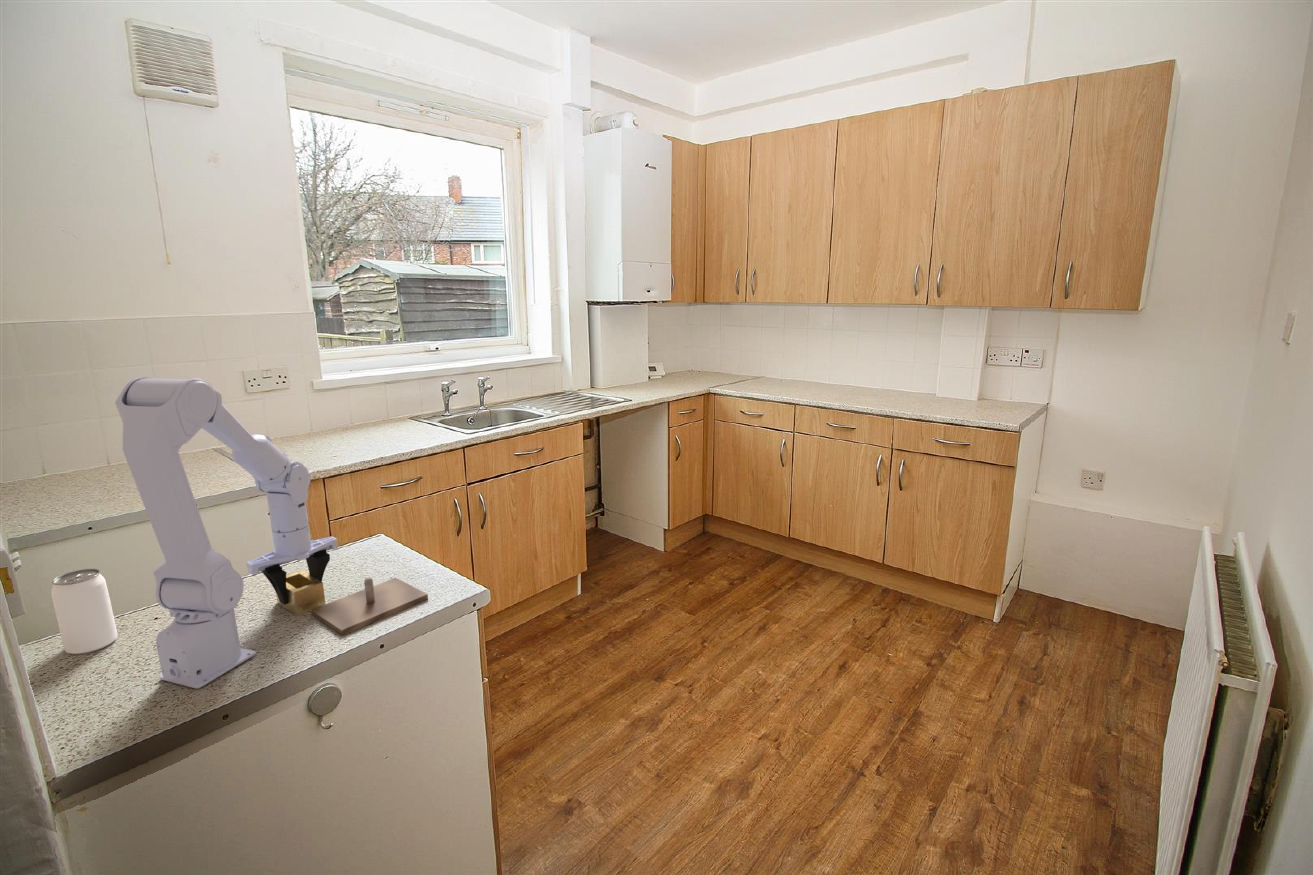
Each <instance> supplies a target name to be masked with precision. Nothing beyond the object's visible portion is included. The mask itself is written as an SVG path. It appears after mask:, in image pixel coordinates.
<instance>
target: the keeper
mask: <svg viewBox="0 0 1313 875" xmlns="http://www.w3.org/2000/svg"><path fill="white" fill-rule="evenodd" d="M363 582H364V589H362V590H360V591H357V592H354V593H351V594H348V595H347V596H343V597H341V598H338V599H335V600H334V601H330V602H328V603H326V604H325V605H322V606H320V607H317V608H314V609H312V610H311V611H310V613H311V616H312V617H314V618H316V619H317V620H318V621H320V622H321V623H323V624H324V625H326V626H327V627H329V628H331V629H332V630H333V631H335V632H336V633H338V634H339V635H341V636H345V635H347V634H350V633H352V632H354V631H357V630H359V629H361V628H364V627H366V626H368V625H370V624H373V623H375V622H378V621H380V620H382V619H385V618H387V617H390V616H392V615H394V614H396V613H398V612H401V611H403V610H406V609H408V608H410V607H413V606H416V605H418V604H421V603H422V602H424V600H425V601H427V600H429V596H428V595H429V594H428V593H426V592H424V591H423V590H421V589H419V588H416V587H414V586H413V585H410V584H408V583H407V582H405V581H402V580H401V579H399V578H397V577H394V578H391V579H389V580H386V581H383V582H380V583H378V584H375V585H374V581H373V578H372V577H367V578H365V579H364V581H363ZM426 599H427V600H426Z"/></svg>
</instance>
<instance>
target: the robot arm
mask: <svg viewBox="0 0 1313 875" xmlns="http://www.w3.org/2000/svg"><path fill="white" fill-rule="evenodd" d="M222 399H223V397H222V394H221V392H219V391H218V390H216V389H214V387H213V386H212V385H211V384H210V383H209V382H207V381H206V380H204V379H201V378H190V379H185V378H184V379H180V378H177V379H176V378H153V377H145V376H140V377H136V378H134V379H132V380H130V381H129V382H127V384H126V385H125V386H124V388H123V389H122V390H121V392H120V394H119V395H118V396H117V399H116V400H115V401H114V404H115V406H116V408H117V411H118V413H119V416H120V419H121V421H122V450H123V451H122V452H123V454H124V458H125V459H126V462H127V465H128V467H129V470H130V472H131V475H132V479H133V480H134V483H135V485H136V487H137V491H138V493H139V495H140V498H141V501H142V504H143V506H144V508H145V511H146V514H147V516H148V519H149V521H150V524H151V526H152V529H153V532H154V534H155V537H156V539H157V540H156V541H157V542H158V544H159V548H160V550H161V552H162V554H163V558H164V560H163V561H162V562H161V563H160V564H159V565H158V566H157V568H156V569H155V570H154V571H153V576H154V579H155V581H156V582H155V584H156V587H155V598H156V602H157V603H158V605H159V606H160V607H162V608H163V609H165V610H168V612H169V615H170V617H172V618H174V619H173V621H172V622H171V623H170V624H169V625H168V626H167V627H166V628H164V629H162V630H161V631H160V632H159V633H158V634H157V636H156V640H155V644H156V650H157V655H158V661H159V665H160V670H161V674H160V675H159V677H158V678H159V680H162V681H165V682H166V681H167V682H169V683H173V684H177V685H180V686H186V687H189V688H193V689H196V690H197V689H201V688H202V687H204V686H206V685H207V684H209V683H211V682H213V681H214V680H216V679H217V678H219V677H220V676H222V675H224V674H225V673H227V672H229V671H230V670H232V669H234V668H235V667H237V666H239V665H240V664H242V663H244V662H245V661H247V660H249V659H251V658H252V657H254V656H255V655H256V651H255V650H251V649H246V648H243V647H241V642H240V638H239V631H238V625H237V619H236V612H235V608H237V607H238V604H239V602H240V601H241V599H242V597H243V594H244V580H243V577H242V576H241V574H240V573H239V572H237V571H236V570H235V569H234V568H233V565H232V562H231V560H230V559H229V558H227V557H226V556H225V555H223V554H222V553H220V552H218V551H217V550H215V549H214V548H213V547H212V545H211V542H210V539H209V536H208V533H207V530H206V527H205V525H204V522H203V519H202V517H201V514H200V511H199V508H198V505H197V502H196V500H195V496H194V494H193V491H192V487H191V484H190V483H189V479H188V476H187V473H186V471H185V468H184V465H183V462H182V460H181V456H180V453H179V451H180V449H181V447H182V446H183V445H185V444H188V443H189V442H190V441H191V440H192V438H193V437H195V436H196V434H198V432H199V431H200V430H204V431H205V432H207V433H208V434H210V435H211V436H212V437H214V438H215V439H217V440H218V441H220V442H221V443H222V444H224V445H225V446H227V448H230V449H231V450H232V453H231V457H232V460H233V461H234V462H235V463H236V464H237V465H239V467H241V468H243V470H245V471H246V472H248V473H249V474H250V475H251V476H252V478H253V479H254V482H255V487H256V488H257V490H258V491H261V492H262V493H265V494H266V499H267V506H268V512H269V519H270V528H271V532H272V533H271V534H272V540H273V545H274V546H273V547H274V550H273V551H270V552H268V553H266V554H263V555H262V556H259V557H257V558H254V559H252V560H249V561H246V565H247V566H246V567H247V573H249V574H250V575H252V576H255V575H257V574H260V572H261V573H262V574H263V575H264V576H265V578H266V579H267V580H268V582H270V584H271V586H272V588H273V589H274V591H275V594H276V593H277V596H278V598H279V601H280V602H281V603H282V604H284V605H285V604H288V594H287V589H286V576H287V571H285V570H284V569H283V567H282V566H281V565H284V564H289V563H292V562H294V561H301V560H305V561H306V565H307V568H308V574H310V575H311V576H313V577H315V578H316V579H318V580H320V581H321V582H323V578H324V575H325V571H326V568H327V566H328V564H329V562H330V560H331V556H330V553H328V552H327V551H329V550H333V551H334V550H337V549H339V545H338V544H339V543H338V539H337V538H336V537H334V536H329V537H324V538H323V537H322V538H319V539H315V540H314V539H313V540H312V539H311V531H310V523H309V514H308V509H307V501H308V497H309V487H310V484H311V480H312V479H311V478H312V474H311V473H310V472H309V470H308V468H307V467H306V466H305V465H304V464H303V463H301V462H299V461H292V459H290V458H289V457H288V454H286V452H282V451H281V450H280V449H279V448H278V447H277V446H276V445H275V444H273V443H272V438H271V437H270V436H269V435H262V434H257V433H256V434H255V433H254V434H252V433H250V432H249V431H248V429H246V427H245V426H244V425H243V424H242V423H241V422H240V421H239V420H238V419H237V417H235V416H234V415H233V413H231V411H229V409H228V408H227V406H225V405H224V404H223V400H222Z"/></svg>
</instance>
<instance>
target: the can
mask: <svg viewBox="0 0 1313 875" xmlns="http://www.w3.org/2000/svg"><path fill="white" fill-rule="evenodd" d="M52 584H53V585H52V587H51V590H50V594H51V599H52V603H53V604H52V605H53V607H54V613H55V616H56V620H57V625H58V629H59V632H60V637H61V641H62V645H63V649H64V651H65V653H68V654H70V655H75V656H76V655H85V654H91V653H94V652H97V651H99V650H102V649H104V648H106V647H108V646H110V645H112V643H114V642H115V641H116V639H118V630H117V626H116V621H115V617H114V612H113V607H112V602H111V598H110V594H109V589H108V586H107V581H106V578H105V577H104V576H103V575H102V574H101V571H100V569H98V568H83V569H77V570H72V571H69V572H67V573H64V574H61V575H59V576H57V577H55V578H54V579H52Z"/></svg>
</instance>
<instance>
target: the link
mask: <svg viewBox="0 0 1313 875" xmlns="http://www.w3.org/2000/svg"><path fill="white" fill-rule="evenodd" d="M286 589H287V594H288V604H285V605H284V604H282V603H281V602H280V601H279V598H278V596H277V593H276V592H275V597H276V601H277V603H278V604H279V605H280V606H282V607H284V608H285V609H287V610H288V611H289V612H290V613H292V614H294V615H295V616H296V617H298V616H301V615H302V614H303V615H304V614H307V613H309V612H311V610H312V609H314V608H317V607H320V606H322V605H325V604H327V603H326V598H325V597H326V596H325V589H324V582H323V581H322V582H321V581H320V580H318V579H316V578H315V577H313V576H311V575H310V574H309V572H308V573H307V572H306V571H305V570H299V571H297V572H294V573H290V574H286Z"/></svg>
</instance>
